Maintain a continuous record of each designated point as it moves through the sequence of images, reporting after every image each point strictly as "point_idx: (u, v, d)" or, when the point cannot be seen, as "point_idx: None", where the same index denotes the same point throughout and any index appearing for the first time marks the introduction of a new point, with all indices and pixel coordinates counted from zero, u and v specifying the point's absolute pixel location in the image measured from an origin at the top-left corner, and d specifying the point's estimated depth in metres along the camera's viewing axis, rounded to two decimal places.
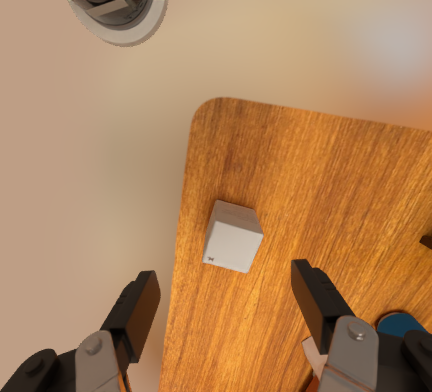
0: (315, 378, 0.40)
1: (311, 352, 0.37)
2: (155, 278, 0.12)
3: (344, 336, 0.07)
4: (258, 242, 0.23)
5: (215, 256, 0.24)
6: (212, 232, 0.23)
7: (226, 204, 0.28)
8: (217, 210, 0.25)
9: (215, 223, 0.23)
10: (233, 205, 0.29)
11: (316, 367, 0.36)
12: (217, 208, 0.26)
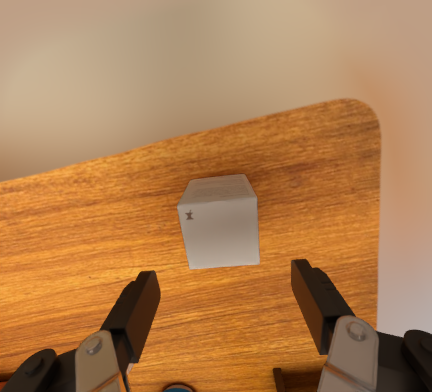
0: None
1: None
2: (155, 278, 0.12)
3: (344, 336, 0.07)
4: (245, 263, 0.16)
5: (196, 220, 0.15)
6: (235, 200, 0.15)
7: None
8: (251, 187, 0.17)
9: (252, 199, 0.14)
10: None
11: None
12: (250, 185, 0.18)
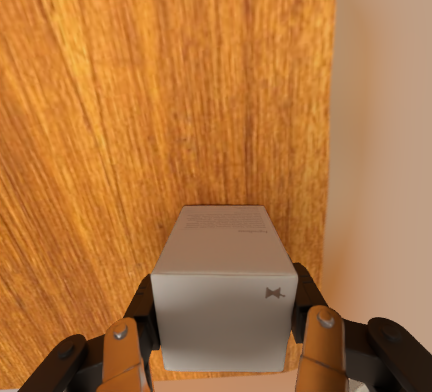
0: None
1: None
2: None
3: (315, 325, 0.07)
4: (167, 354, 0.10)
5: (262, 301, 0.08)
6: (284, 350, 0.09)
7: None
8: None
9: (281, 367, 0.10)
10: None
11: None
12: None
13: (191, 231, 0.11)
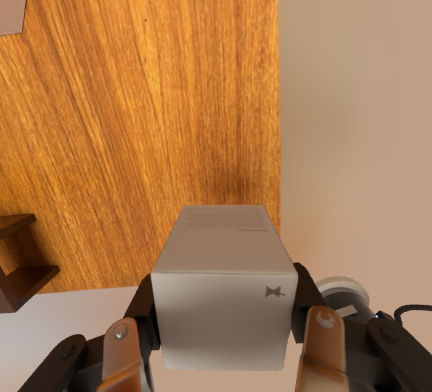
0: None
1: None
2: None
3: (315, 325, 0.07)
4: (167, 353, 0.10)
5: (262, 300, 0.08)
6: (284, 348, 0.09)
7: None
8: None
9: (281, 365, 0.10)
10: None
11: None
12: None
13: (191, 230, 0.11)
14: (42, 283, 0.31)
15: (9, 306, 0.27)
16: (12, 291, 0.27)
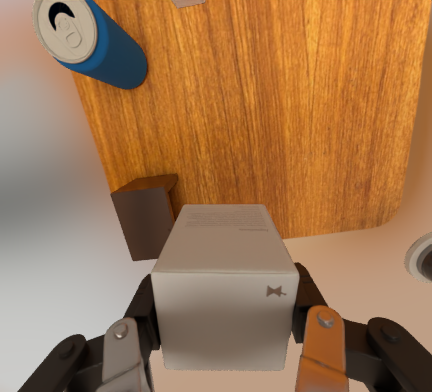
0: None
1: None
2: None
3: (315, 325, 0.07)
4: (167, 353, 0.09)
5: (263, 300, 0.08)
6: (285, 348, 0.09)
7: None
8: None
9: (282, 366, 0.10)
10: None
11: None
12: None
13: (191, 229, 0.11)
14: None
15: None
16: None
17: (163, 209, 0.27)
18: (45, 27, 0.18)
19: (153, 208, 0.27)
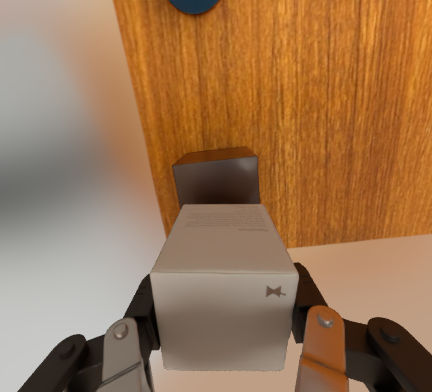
0: None
1: None
2: None
3: (315, 325, 0.07)
4: (166, 353, 0.09)
5: (263, 300, 0.08)
6: (284, 349, 0.09)
7: None
8: None
9: (281, 366, 0.10)
10: None
11: None
12: None
13: (191, 229, 0.11)
14: None
15: None
16: None
17: (250, 192, 0.18)
18: None
19: (235, 189, 0.18)
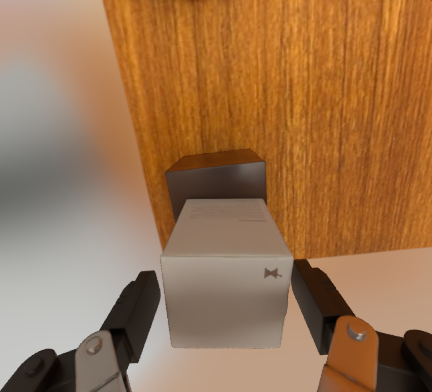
0: None
1: None
2: (155, 278, 0.12)
3: (344, 336, 0.07)
4: (174, 332, 0.10)
5: (261, 281, 0.09)
6: (281, 327, 0.10)
7: None
8: None
9: (279, 343, 0.11)
10: None
11: None
12: None
13: (195, 220, 0.12)
14: None
15: None
16: None
17: None
18: None
19: None
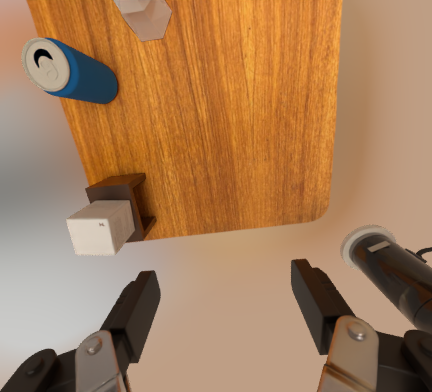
0: None
1: (163, 10, 0.30)
2: (155, 278, 0.12)
3: (344, 336, 0.07)
4: (75, 248, 0.29)
5: (99, 227, 0.28)
6: (112, 245, 0.29)
7: None
8: (123, 243, 0.32)
9: (114, 253, 0.29)
10: None
11: None
12: (125, 241, 0.33)
13: (88, 209, 0.31)
14: (151, 226, 0.41)
15: (140, 235, 0.37)
16: (141, 225, 0.37)
17: None
18: (31, 65, 0.24)
19: None
